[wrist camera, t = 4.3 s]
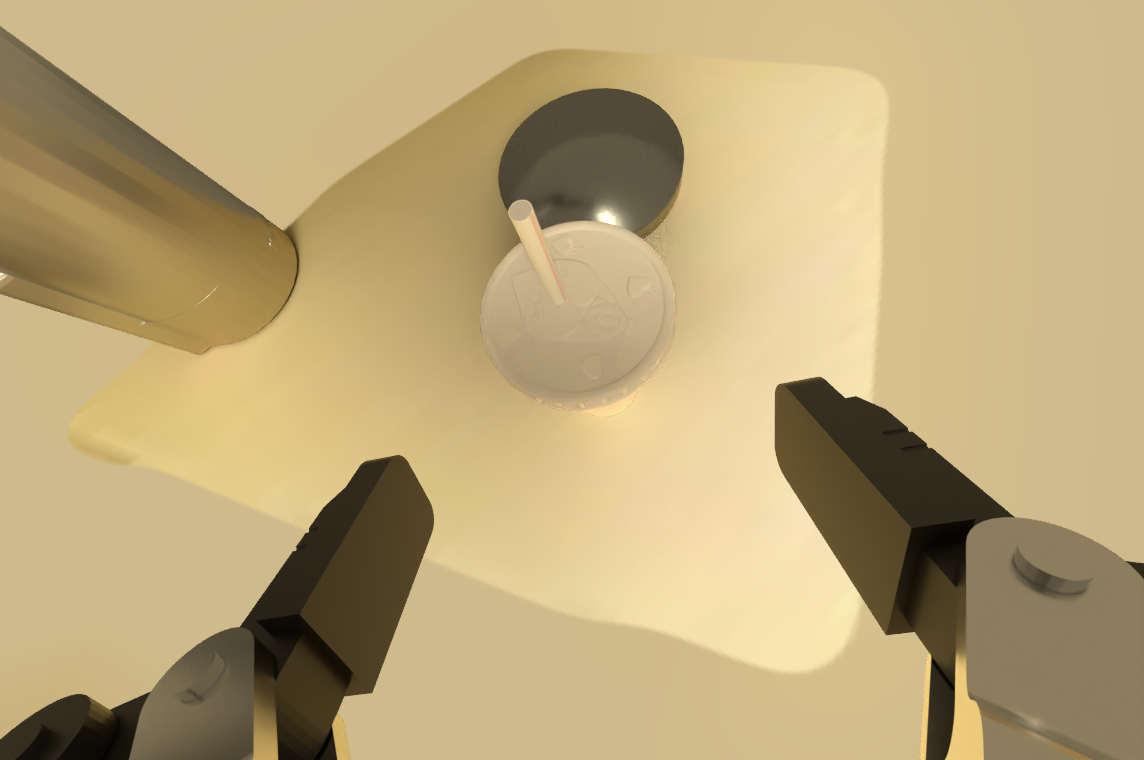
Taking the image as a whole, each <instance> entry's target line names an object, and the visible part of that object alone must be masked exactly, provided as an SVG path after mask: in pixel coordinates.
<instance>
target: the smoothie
mask: <svg viewBox="0 0 1144 760" xmlns="http://www.w3.org/2000/svg"><path fill="white" fill-rule="evenodd" d="M508 214H509V217H510V219H511V221H512V223H513V225H514V227H515V229H516V231H517V233H518V235H519V238H520V240H521V242H520V243H519V244H518V245H517V246H515V247H514V248H513V249H512V250H511V251H510V252H509V253H508V254H507V255H506V256H505V257H504V258H503V259H502V261H501V262H500V263H499V265H498V266H497V267H496V269H495V270H494V272H493V274H492V276H491V277H490V279H489V282H488V284H487V286H486V289H485V292H484V295H483V299H482V304H481V311H480V325H481V333H482V338H483V342H484V345H485V348H486V350H487V353H488V355H489V357H490V359H491V361H492V362H493V364H494V365H495V367H496V368H497V369H498V371H499V372H500V373H501V374H502V375H503V376H504V377H505V378H506V380H507V381H508V382H509V383H510V385H511V386H512V387H514V388H515V389H516V390H518V391H519V392H520V393H522V394H523V395H524V396H526V397H527V398H528V399H530V400H532V401H534V402H537V403H540V404H542V405H545V406H548V407H550V408H553V409H562V410H572V411H583V412H585V413H588V414H590V415H594V416H599V417H606V416H611V415H614V414H617V413H619V412H621V411H622V410H624V409H625V408H626V407H627V406H628V405H629V404H630V403H631V401H632V400H633V398H634V396H635V394H636V392H637V390H638V389H639V388H640V387H641V386H643V385H644V384H645V383H646V382H648V381H649V380H650V379H651V378H652V377H653V375H654V374H655V372H656V371H657V370H658V368H659V367H660V365H661V364H662V363H663V361H664V360H665V358H666V357H667V354H668V351H669V348H670V346H671V343H672V340H673V337H674V335H675V323H676V299H675V291H674V286H673V282H672V279H671V276H670V274H669V272H668V269H667V267H666V265H665V264H664V262H663V260H662V259H661V258H660V256H659V255H658V254H657V252H656V251H655V250H654V249H653V248H652V247H651V246H650V245H649V244H648V243H647V242H645V241H644V240H643V239H642V238H640V237H639V236H637V235H636V234H634V233H632V232H630V231H628V230H626V229H624V228H622V227H619V226H616V225H613V224H609V223H604V222H597V221H573V222H566V223H561V224H557V225H554V226H551V227H548V228H545V229H543V230H541V227H540V225H539V222H538V220H537V217H536V215H535V212H534V209H533V207H532V205H531V203H530V202H529V201H527V200H518V201H516V202H514V203H513V204H512V205H511V206H510V208H509V210H508Z"/></svg>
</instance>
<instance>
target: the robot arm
mask: <svg viewBox="0 0 1144 760" xmlns="http://www.w3.org/2000/svg"><path fill="white" fill-rule="evenodd" d="M296 272H297V257H296V252H295V248H294V246H293V244H292V242H291V240H290V238H289V237H288V236H287V235H286V234H285V233H284V231H282V230H281V229H280V228H278V227H277V226H276V225H274V224H273V223H271V222H270V221H269V220H267V219H266V218H265V217H264V216H263V215H261V214H260V213H259V212H257V211H256V210H255V209H253V208H252V207H250V206H248V205H246V204H245V203H244V202H242V201H241V200H240V199H238V198H237V197H235V196H234V195H233V194H231V193H230V192H229V191H227V190H226V189H225V188H223V187H222V186H220V185H219V184H218V183H216V182H215V181H214V180H212V179H211V178H209V177H208V176H207V175H205V174H204V173H203V172H201V171H200V170H198V169H197V168H196V167H194V166H193V165H191V164H190V163H189V162H187V161H186V160H185V159H183V158H182V157H180V156H179V155H178V154H176V153H175V152H173V151H172V150H171V149H169V148H168V147H167V146H165V145H164V144H162V143H161V142H160V141H158V140H157V139H156V138H154V137H153V136H151V135H150V134H149V133H147V132H146V131H144V130H143V129H142V128H140V127H139V126H138V125H136V124H135V123H133V122H132V121H130V120H129V119H128V118H127V117H125V116H124V115H122V114H121V113H120V112H118V111H117V110H115V109H114V108H113V107H111V106H110V105H108V104H107V103H105V102H104V101H103V100H101V99H100V98H99V97H97V96H96V95H95V94H93V93H92V92H90V91H89V90H88V89H86V88H85V87H83V86H82V85H81V84H79V83H78V82H77V81H75V80H74V79H73V78H71V77H70V76H68V75H67V74H66V73H64V72H63V71H62V70H60V69H59V68H57V67H56V66H55V65H53V64H52V63H51V62H49V61H48V60H46V59H45V58H44V57H42V56H41V55H39V54H38V53H36V52H35V51H34V50H32V49H31V48H30V47H28V46H27V45H26V44H24V43H23V42H22V41H20V40H19V39H17V38H16V37H15V36H13V35H12V34H10V33H9V32H7V31H6V30H5V29H3V28H2V27H1V26H0V294H2V295H5V296H8V297H12V298H15V299H18V300H21V301H25V302H28V303H31V304H34V305H38V306H41V307H44V308H48V309H51V310H54V311H57V312H60V313H64V314H67V315H70V316H73V317H77V318H80V319H83V320H86V321H90V322H93V323H96V324H99V325H103V326H106V327H109V328H112V329H116V330H119V331H122V332H126V333H129V334H132V335H135V336H138V337H142V338H145V339H148V340H151V341H155V342H158V343H161V344H164V345H168V346H171V347H174V348H177V349H181V350H184V351H187V352H190V353H194V354H197V355H201V354H202V353H203V352H205V351H206V350H207V349H209V348H210V347H212V346H216V345H224V344H231V343H234V342H237V341H240V340H243V339H245V338H247V337H249V336H251V335H253V334H254V333H256V332H258V331H259V330H260V329H261V328H263V327H264V326H265V325H266V324H268V323H269V322H270V321H271V320H272V319H273V317H274V316H275V315H276V314H277V313H278V312H279V311H280V309H281V308H282V306H283V305H284V303H285V302H286V300H287V298H288V296H289V294H290V292H291V290H292V287H293V285H294V280H295V276H296ZM775 452H776V456H777V460H778V463H779V466H780V469H781V471H782V473H783V475H784V476H785V478H786V480H787V481H788V483H789V484H790V486H791V487H792V489H793V491H794V492H795V494H796V495H797V497H798V498H799V500H800V501H801V503H802V505H803V506H804V508H805V509H806V511H807V512H808V514H809V516H810V517H811V519H812V520H813V522H814V523H815V525H816V526H817V528H818V530H819V531H820V533H821V534H822V536H823V537H824V539H825V541H826V542H827V544H828V545H829V547H830V548H831V550H832V551H833V553H834V555H835V556H836V558H837V559H838V561H839V562H840V564H841V566H842V567H843V569H844V570H845V572H846V573H847V575H848V576H849V578H850V580H851V581H852V583H853V584H854V586H855V587H856V589H857V591H858V592H859V594H860V595H861V597H862V598H863V600H864V601H865V603H866V604H867V606H868V608H869V609H870V611H871V612H872V614H873V616H874V617H875V618H876V620H877V622H878V623H879V625H880V626H881V628H882V630H883V631H884V633H885V634H886V635H891V634H901V633H908V632H915V633H916V634H917V636H918V637H919V639H920V640H921V642H922V643H923V644H924V646H925V647H926V649H927V650H928V655H927V659H926V669H925V685H924V699H923V715H922V731H921V746H920V760H1144V563H1136V562H1129V561H1124V560H1123V559H1122V558H1121V557H1119V556H1118V555H1117V554H1115V553H1113V552H1112V551H1111V550H1109V549H1107V548H1106V547H1104V546H1102V545H1101V544H1099V543H1097V542H1095V541H1093V540H1091V539H1090V538H1087V537H1085V536H1083V535H1080V534H1078V533H1076V532H1074V531H1071V530H1068V529H1066V528H1063V527H1060V526H1057V525H1053V524H1050V523H1046V522H1042V521H1037V520H1032V519H1025V518H1016V517H1014V516H1013V515H1011V514H1010V513H1009V512H1008V511H1006V510H1005V509H1004V508H1003V507H1002V506H1001V505H999V504H998V503H997V502H996V501H994V500H993V499H992V498H991V497H990V496H989V495H987V494H986V493H985V492H984V491H983V490H981V489H980V488H979V487H978V486H977V485H975V484H974V483H973V482H972V481H971V480H969V479H968V478H967V477H966V476H965V475H963V474H962V473H961V472H960V471H959V470H958V469H956V468H955V467H954V466H953V465H952V464H950V463H949V462H948V461H947V460H945V459H944V458H943V457H942V456H941V455H940V454H938V453H937V452H936V451H935V450H934V449H932V448H928V447H927V444H926V443H925V442H924V441H923V440H922V439H921V438H919V437H918V436H917V435H916V434H915V433H913V432H909V431H908V428H907V427H906V426H905V425H904V424H903V423H901V422H900V421H899V420H898V419H897V418H895V417H894V416H893V415H892V414H891V413H889V412H888V411H887V410H886V409H884V408H881V407H879V406H877V405H875V404H872V403H870V402H868V401H866V400H863V399H861V398H859V397H856V396H855V397H850V398H844V397H843V396H842V395H841V394H840V393H839V392H838V391H837V390H836V389H835V388H834V387H832V386H831V385H830V384H829V383H828V382H827V381H826V380H825V379H823V378H821V377H815V378H809V379H804V380H799V381H793V382H788V383H783V384H779V385H778V386H777V387H776V391H775ZM433 525H434V514H433V509H432V506H431V503H430V501H429V499H428V498H427V496H426V494H425V492H424V490H423V488H422V487H421V485H420V483H419V481H418V479H417V477H416V476H415V474H414V472H413V470H412V468H411V467H410V465H409V463H408V461H407V460H406V459H405V458H404V457H403V456H401V455H396V456H391V457H385V458H380V459H375V460H370V461H366V462H364V463H362V464H361V466H360V467H359V468H358V470H357V471H356V473H355V474H354V476H353V477H352V479H351V480H350V482H349V483H348V485H347V486H346V488H344V489H343V490H342V491H341V492H340V493H339V494H338V495H337V496H336V497H335V498H333V499H332V500H331V501H330V502H329V503H328V504H327V505H326V506H325V507H324V508H323V509H322V511H321V512H320V513H319V515H318V516H317V518H316V519H315V521H314V522H313V523H312V525H311V526H310V528H309V533H305V535H304V536H303V538H302V539H301V541H300V542H299V543H298V545H297V546H296V548H297V550H296V551H293V552H292V554H291V555H290V556H289V558H288V559H287V561H286V562H285V564H284V565H283V567H282V568H281V569H280V571H279V572H278V574H277V575H276V576H275V578H274V579H273V581H272V582H271V583H270V585H269V586H268V588H267V589H266V591H265V592H264V593H263V595H262V596H261V598H260V599H259V601H258V602H257V603H256V605H255V606H254V608H253V609H252V611H251V612H250V613H249V615H248V616H247V618H246V619H245V621H244V622H243V623H242V625H241V626H240V627H237V628H230V629H227V630H224V631H222V632H219V633H217V634H215V635H213V636H211V637H209V638H207V639H206V640H204V641H203V642H201V643H200V644H198V645H197V646H195V647H194V648H193V649H191V650H190V651H189V652H187V653H186V654H185V655H184V656H183V657H182V658H180V659H179V660H178V661H177V662H176V663H175V664H174V665H173V666H172V667H171V668H170V669H169V670H168V671H167V672H166V673H165V675H164V676H163V677H162V678H161V679H160V680H159V682H158V683H157V684H156V686H155V687H154V689H153V690H152V691H151V692H149V693H147V694H144V695H142V696H140V697H138V698H135V699H133V700H131V701H129V702H126V703H124V704H122V705H120V706H117V707H115V708H113V709H111V710H109V709H107V708H106V707H104V706H103V705H101V704H99V703H98V702H96V701H95V700H93V699H91V698H90V697H88V696H87V695H83V694H75V695H71V696H68V697H65V698H62V699H60V700H57V701H56V702H53V703H52V704H50V705H48V706H46V707H45V708H43V709H41V710H39V711H38V712H36V713H34V714H33V715H32V716H30V717H29V718H27V719H26V720H24V721H23V722H22V723H20V724H19V725H18V726H16V727H15V728H14V729H12V730H11V731H10V732H9V733H8V734H6V735H5V736H4V737H3V738H2V739H0V760H351V759H350V753H349V748H348V742H347V737H346V731H345V726H344V723H343V720H342V718H341V717H340V715H339V714H337V712H338V710H339V707H340V705H341V703H342V700H343V698H344V696H351V695H358V694H367V693H372V692H373V689H374V687H375V684H376V681H377V679H378V676H379V673H380V671H381V668H382V665H383V663H384V660H385V657H386V655H387V652H388V649H389V646H390V644H391V641H392V639H393V636H394V633H395V630H396V628H397V625H398V622H399V619H400V617H401V614H402V612H403V609H404V606H405V604H406V601H407V598H408V596H409V593H410V590H411V587H412V584H413V582H414V579H415V577H416V574H417V571H418V569H419V566H420V563H421V561H422V558H423V555H424V553H425V550H426V547H427V545H428V542H429V539H430V536H431V534H432V531H433Z"/></svg>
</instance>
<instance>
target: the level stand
mask: <svg viewBox="0 0 1144 760" xmlns="http://www.w3.org/2000/svg"><path fill="white" fill-rule="evenodd" d="M683 162H684V148H683V143H682V138H681V136H680V133H679V130H678V128H677V126H676V125H675V123H674V121H673V120H672V119H671V117H670V116H669V115H668V114H667V113H666V112H665V111H664V110H663V109H662V108H661V107H660V106H659V105H657V104H656V103H654V102H653V101H651V100H650V99H647V98H645V97H643V96H641V95H639V94H636V93H632V92H629V91H624V90H619V89H608V88H603V89H589V90H583V91H579V92H574V93H571V94H568V95H565V96H562V97H560V98H558V99H555V100H553V101H551V102H549V103H548V104H546V105H544V106H542V107H541V108H540V109H538V110H537V111H535V112H534V113H533V114H531V115H530V116H529V117H528V118H527V119H526V120H525V121H524V122H523V123H522V124H521V125H520V126H519V127H518V128H517V130H516V131H515V132H514V134H513V135H512V137H511V138H510V140H509V142H508V143H507V145H506V147H505V150H504V152H503V155H502V158H501V162H500V166H499V176H498V177H499V188H500V193H501V197H502V199H503V202H504V204H505V207H506V209H507V211H508V210H509V208H510V206H511V205H512V204H513V203H514V202H516V201H518V200H527V201H529V202H530V203H531V205H532V207H533V209H534V212H535V215H536V217H537V220H538V222H539V225H540V227H541V230H543V229H545V228H548V227H551V226H554V225H557V224H561V223H566V222H573V221H597V222H604V223H609V224H613V225H616V226H619V227H622V228H624V229H626V230H628V231H630V232H632V233H634V234H636V235H637V236H639V237H640V238H642V239H644V238H645V237H646V236H648V235H649V234H650V233H652V232H653V231H654V230H655V229H656V228H657V227H658V226H659V225H660V224H661V223H662V221H663V220H664V219H665V218H666V217H667V215H668V214H669V212H670V210H671V209H672V207H673V206H674V203H675V201H676V199H677V197H678V193H679V190H680V186H681V179H682V170H683Z"/></svg>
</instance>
